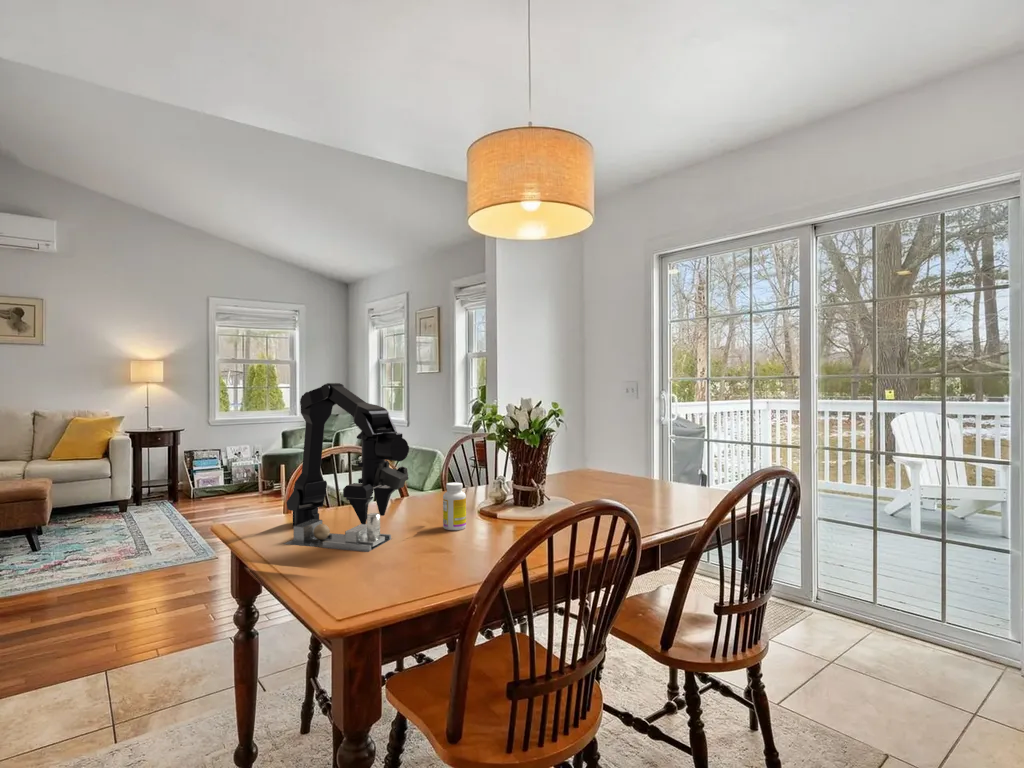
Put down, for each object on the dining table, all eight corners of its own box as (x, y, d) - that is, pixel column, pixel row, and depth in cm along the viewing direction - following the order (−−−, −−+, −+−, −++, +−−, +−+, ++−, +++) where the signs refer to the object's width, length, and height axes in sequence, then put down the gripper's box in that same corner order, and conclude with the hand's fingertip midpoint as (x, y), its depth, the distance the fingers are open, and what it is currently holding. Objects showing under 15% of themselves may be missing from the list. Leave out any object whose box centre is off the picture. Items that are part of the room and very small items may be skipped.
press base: (283, 549, 145) (283, 527, 145) (312, 537, 156) (312, 517, 156) (368, 558, 138) (368, 535, 138) (392, 544, 150) (392, 523, 150)
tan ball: (310, 541, 147) (310, 525, 147) (319, 536, 151) (319, 521, 151) (323, 542, 146) (323, 526, 146) (332, 538, 150) (332, 522, 150)
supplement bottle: (469, 526, 169) (469, 482, 168) (460, 531, 162) (460, 486, 162) (449, 524, 171) (449, 481, 171) (439, 529, 164) (439, 484, 164)
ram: (345, 545, 142) (345, 516, 142) (362, 537, 150) (362, 509, 150) (371, 548, 140) (371, 518, 140) (387, 539, 148) (386, 511, 148)
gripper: (384, 464, 133) (383, 531, 134) (418, 454, 151) (418, 513, 151) (341, 462, 136) (341, 528, 137) (380, 452, 154) (380, 510, 155)
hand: (373, 519), depth 145 cm, fingers open, 9 cm apart
